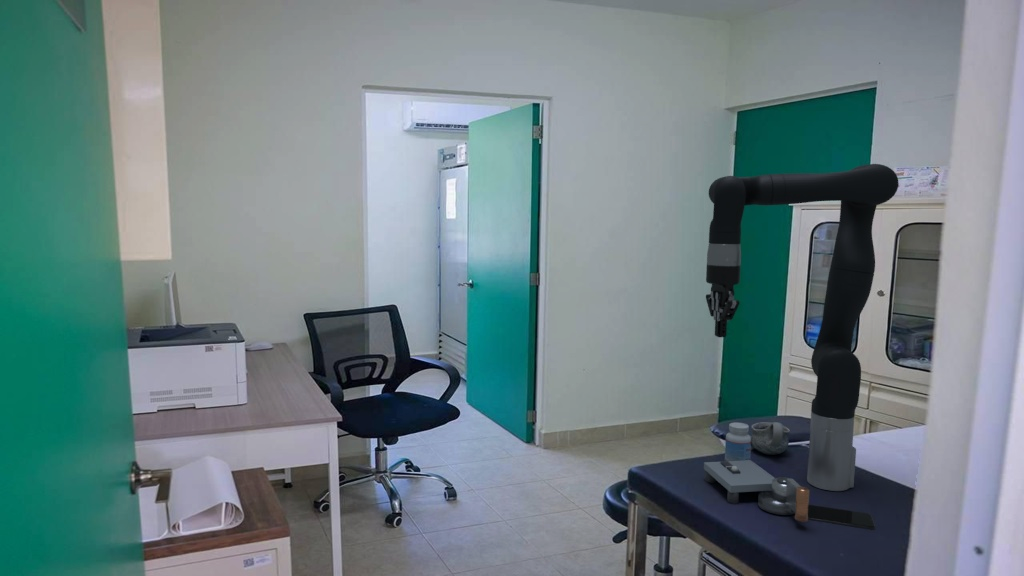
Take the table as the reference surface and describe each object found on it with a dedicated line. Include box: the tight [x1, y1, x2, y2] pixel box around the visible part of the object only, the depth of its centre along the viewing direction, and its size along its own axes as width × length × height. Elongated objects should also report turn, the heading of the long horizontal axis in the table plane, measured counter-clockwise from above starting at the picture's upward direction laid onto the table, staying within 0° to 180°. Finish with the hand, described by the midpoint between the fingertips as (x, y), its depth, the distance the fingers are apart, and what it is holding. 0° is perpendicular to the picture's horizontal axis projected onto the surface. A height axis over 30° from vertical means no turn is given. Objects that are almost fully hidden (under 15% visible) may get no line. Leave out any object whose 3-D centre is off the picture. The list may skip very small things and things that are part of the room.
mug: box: [750, 421, 791, 456], centre depth 179 cm, size 10×12×10 cm
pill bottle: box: [724, 422, 752, 461], centre depth 169 cm, size 6×6×11 cm
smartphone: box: [808, 504, 876, 531], centre depth 143 cm, size 7×1×15 cm
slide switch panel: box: [703, 459, 775, 505], centre depth 156 cm, size 12×14×6 cm
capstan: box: [757, 476, 810, 523], centre depth 143 cm, size 14×8×8 cm, turn 0°
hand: (720, 336), depth 158 cm, fingers closed
